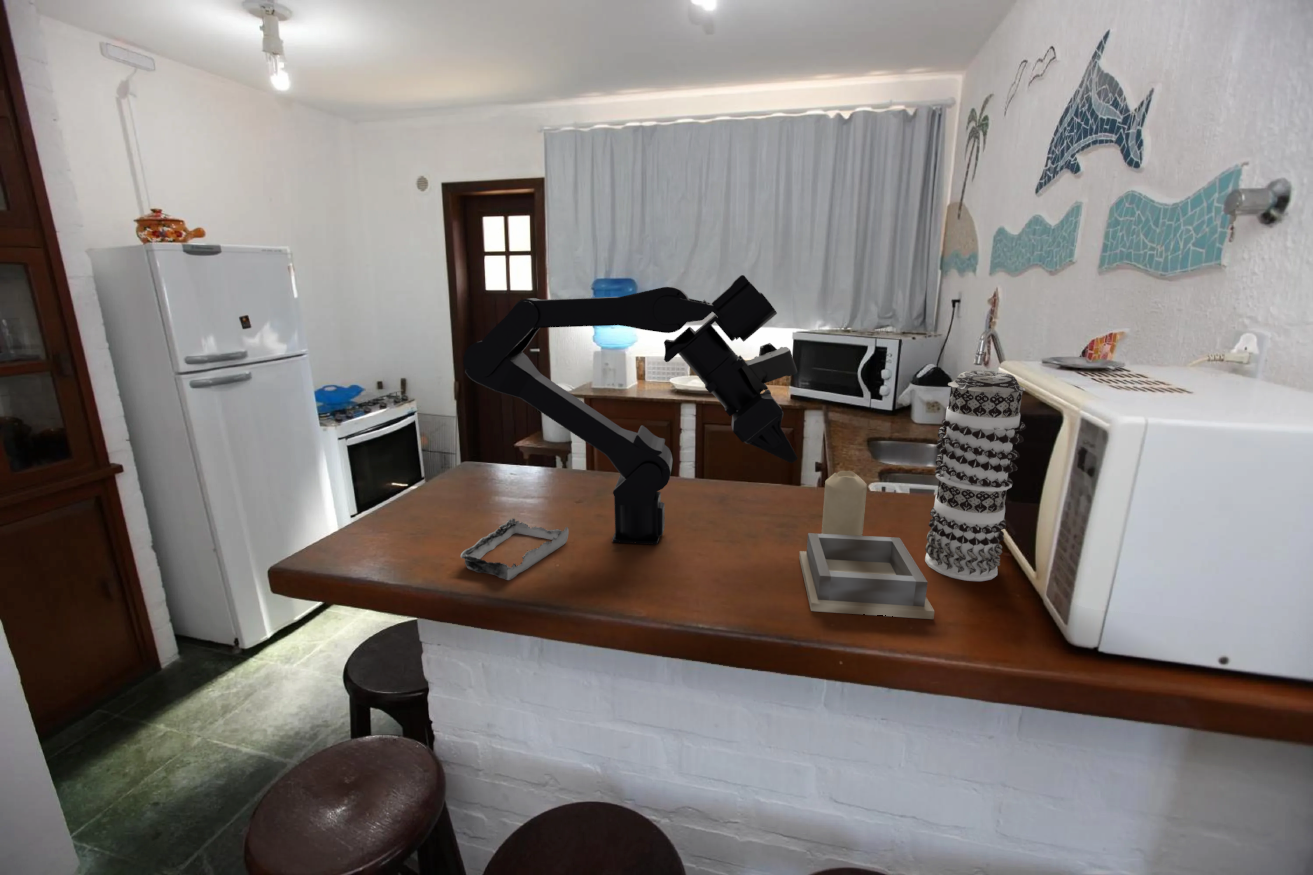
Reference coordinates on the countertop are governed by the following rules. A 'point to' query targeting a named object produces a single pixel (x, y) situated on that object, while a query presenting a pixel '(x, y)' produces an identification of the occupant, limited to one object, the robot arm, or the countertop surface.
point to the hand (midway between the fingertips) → (789, 450)
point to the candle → (844, 504)
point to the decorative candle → (974, 475)
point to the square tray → (863, 576)
